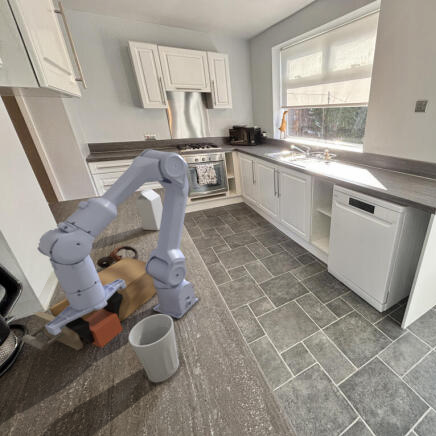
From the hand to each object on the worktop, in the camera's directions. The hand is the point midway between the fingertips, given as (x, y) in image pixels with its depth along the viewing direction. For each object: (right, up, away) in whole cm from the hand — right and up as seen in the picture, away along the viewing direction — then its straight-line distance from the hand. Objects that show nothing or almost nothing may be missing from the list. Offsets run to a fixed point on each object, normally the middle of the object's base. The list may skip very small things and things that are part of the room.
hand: (102, 331), depth 54 cm
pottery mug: (-19, +8, +33) cm, 39 cm away
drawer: (-11, -3, +7) cm, 13 cm away
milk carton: (-24, +22, +62) cm, 70 cm away
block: (0, -1, +1) cm, 1 cm away
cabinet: (-7, +1, +18) cm, 19 cm away
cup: (+14, -8, -1) cm, 16 cm away
